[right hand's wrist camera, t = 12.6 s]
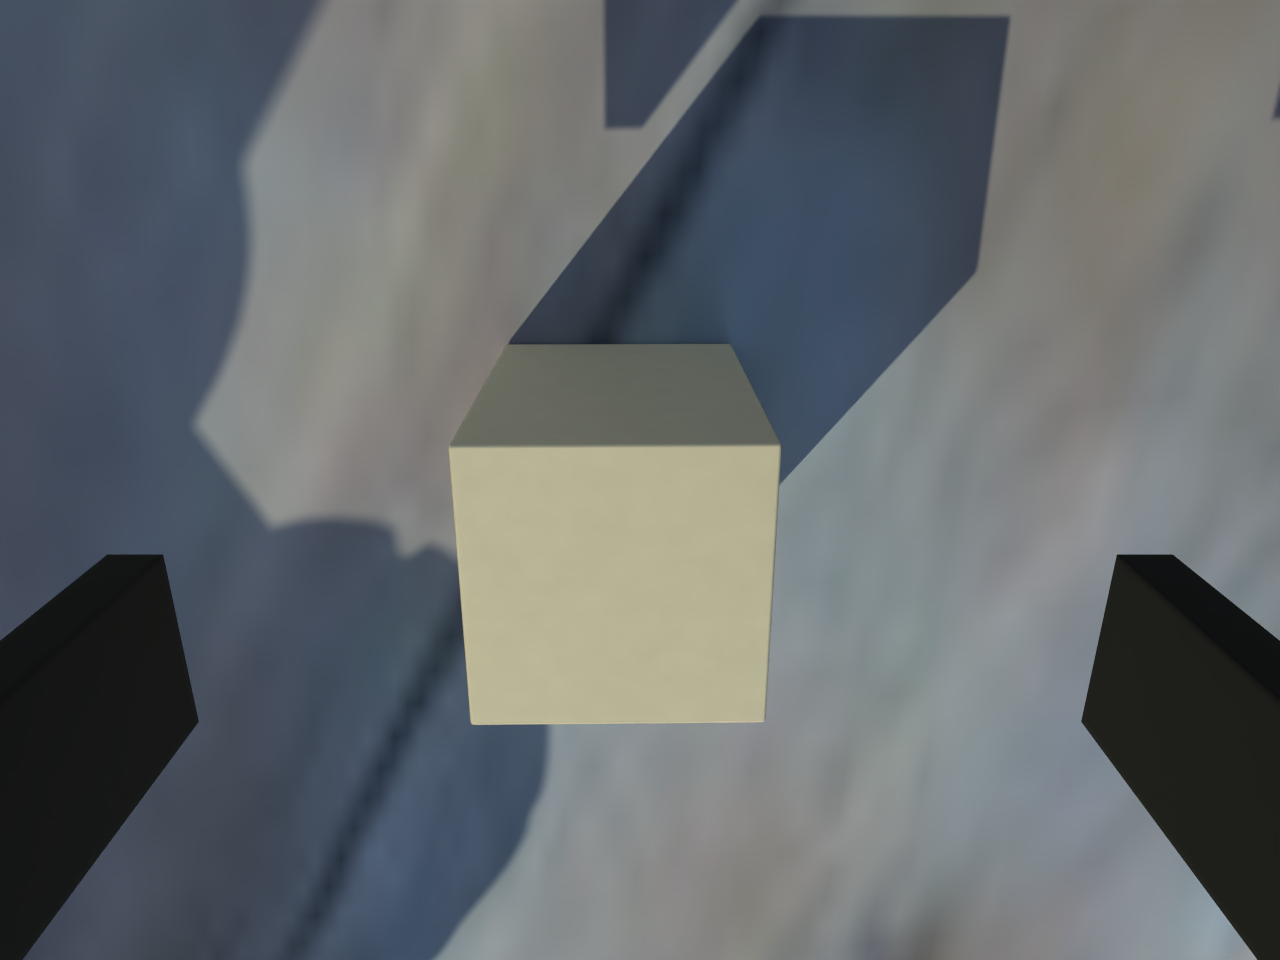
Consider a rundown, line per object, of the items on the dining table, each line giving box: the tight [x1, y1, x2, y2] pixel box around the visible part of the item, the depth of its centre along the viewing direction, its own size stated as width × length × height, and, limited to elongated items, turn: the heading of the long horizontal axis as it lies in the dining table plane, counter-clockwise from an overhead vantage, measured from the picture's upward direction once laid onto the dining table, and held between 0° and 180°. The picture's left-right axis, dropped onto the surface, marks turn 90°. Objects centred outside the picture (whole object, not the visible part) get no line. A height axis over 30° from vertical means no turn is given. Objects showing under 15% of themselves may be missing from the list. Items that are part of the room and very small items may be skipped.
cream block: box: [449, 344, 782, 725], centre depth 18 cm, size 5×5×7 cm
